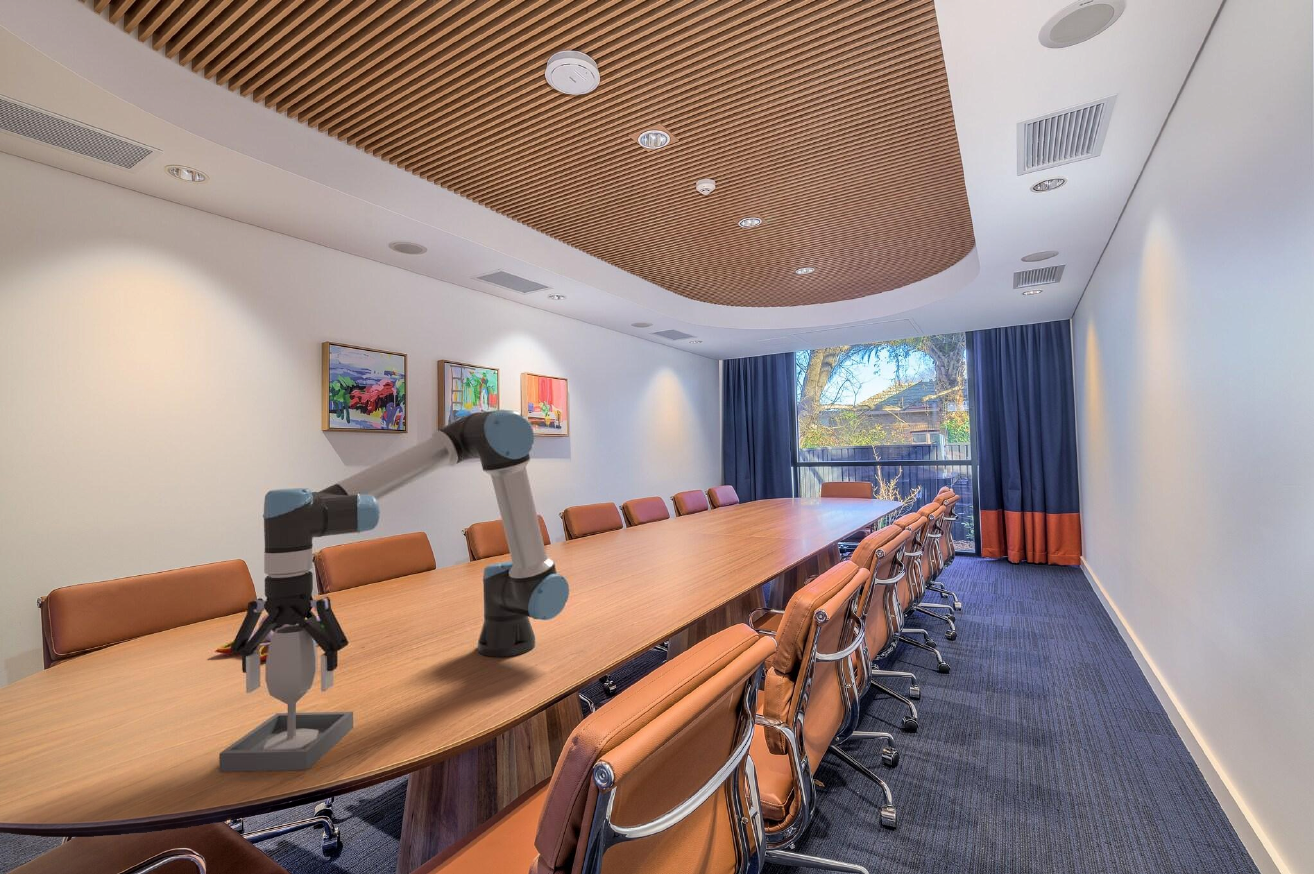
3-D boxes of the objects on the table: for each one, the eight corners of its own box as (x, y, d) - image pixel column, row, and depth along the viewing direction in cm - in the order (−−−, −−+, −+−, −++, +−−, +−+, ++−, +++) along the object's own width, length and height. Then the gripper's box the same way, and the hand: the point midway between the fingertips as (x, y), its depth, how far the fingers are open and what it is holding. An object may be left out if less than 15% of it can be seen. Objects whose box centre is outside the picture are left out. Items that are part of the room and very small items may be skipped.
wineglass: (279, 734, 111) (280, 622, 112) (327, 731, 112) (328, 621, 113) (252, 757, 103) (253, 636, 103) (304, 755, 103) (305, 635, 104)
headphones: (333, 614, 168) (265, 625, 150) (330, 649, 167) (260, 665, 149) (286, 608, 176) (215, 618, 157) (283, 642, 174) (211, 656, 156)
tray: (353, 727, 115) (353, 711, 115) (307, 769, 100) (307, 751, 100) (277, 729, 115) (276, 713, 115) (219, 771, 100) (219, 753, 100)
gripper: (366, 567, 111) (368, 679, 111) (236, 570, 111) (237, 682, 111) (345, 576, 104) (347, 696, 104) (205, 579, 104) (206, 699, 104)
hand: (290, 689), depth 107 cm, fingers open, 13 cm apart
